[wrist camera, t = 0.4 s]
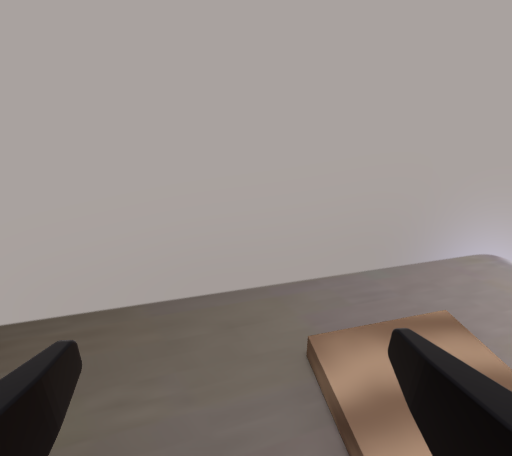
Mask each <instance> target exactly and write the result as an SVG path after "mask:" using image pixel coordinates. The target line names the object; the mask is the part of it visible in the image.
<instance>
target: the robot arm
mask: <svg viewBox="0 0 512 456" xmlns="http://www.w3.org/2000/svg"><path fill="white" fill-rule="evenodd" d="M388 357H389V360H390V363H391V365H392V368H393V370H394V373H395V375H396V378H397V380H398V383H399V385H400V388H401V391H402V393H403V396H404V398H405V401H406V403H407V405H408V408H409V410H410V412H411V414H412V416H413V418H414V420H415V422H416V424H417V426H418V428H419V430H420V432H421V434H422V436H423V438H424V440H425V442H426V444H427V446H428V448H429V450H430V452H431V454H432V456H512V391H510V390H508V389H507V388H505V387H504V386H502V385H500V384H499V383H497V382H495V381H494V380H492V379H491V378H489V377H487V376H486V375H484V374H482V373H481V372H479V371H478V370H476V369H474V368H473V367H471V366H469V365H468V364H466V363H465V362H463V361H461V360H460V359H458V358H456V357H455V356H453V355H451V354H450V353H448V352H447V351H445V350H443V349H442V348H440V347H438V346H437V345H435V344H434V343H432V342H430V341H429V340H427V339H425V338H424V337H422V336H421V335H419V334H417V333H416V332H414V331H412V330H411V329H409V328H395V329H394V330H393V331H392V334H391V338H390V342H389V346H388ZM81 369H82V361H81V357H80V353H79V349H78V346H77V343H76V342H75V341H74V340H60V341H57V342H55V343H54V344H52V345H51V346H49V347H48V348H46V349H45V350H43V351H42V352H40V353H39V354H37V355H36V356H34V357H33V358H31V359H30V360H28V361H27V362H26V363H24V364H23V365H21V366H20V367H18V368H17V369H15V370H14V371H12V372H11V373H9V374H8V375H6V376H5V377H3V378H2V379H0V456H48V455H49V453H50V451H51V449H52V446H53V444H54V442H55V440H56V438H57V435H58V433H59V431H60V428H61V426H62V423H63V421H64V418H65V415H66V412H67V409H68V407H69V404H70V401H71V398H72V395H73V393H74V390H75V387H76V384H77V381H78V379H79V376H80V373H81Z"/></svg>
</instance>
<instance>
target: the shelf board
mask: <svg viewBox="0 0 512 456" xmlns="http://www.w3.org/2000/svg"><path fill="white" fill-rule="evenodd" d="M395 328H409V329H411V330H412V331H414V332H416V333H417V334H419V335H421V336H422V337H424V338H425V339H427V340H429V341H430V342H432V343H434V344H435V345H437V346H438V347H440V348H442V349H443V350H445V351H447V352H448V353H450V354H451V355H453V356H455V357H456V358H458V359H460V360H461V361H463V362H465V363H466V364H468V365H469V366H471V367H473V368H474V369H476V370H478V371H479V372H481V373H482V374H484V375H486V376H487V377H489V378H491V379H492V380H494V381H495V382H497V383H499V384H500V385H502V386H504V387H505V388H507V389H508V390H510V391H512V370H511V369H510V368H509V367H508V366H507V365H506V364H505V363H504V362H503V361H502V360H500V359H499V358H498V357H497V356H496V355H495V354H494V353H493V352H492V351H491V350H489V349H488V348H487V347H486V346H485V345H484V344H483V343H482V342H481V341H479V340H478V339H477V338H476V337H475V336H474V335H473V334H472V333H471V332H470V331H468V330H467V329H466V328H465V327H464V326H463V325H462V324H461V323H460V322H459V321H457V320H456V319H455V318H454V317H453V316H452V315H451V314H450V313H449V312H448V311H446V310H443V311H437V312H432V313H427V314H422V315H417V316H411V317H406V318H401V319H396V320H390V321H385V322H380V323H375V324H369V325H364V326H359V327H354V328H348V329H343V330H338V331H333V332H328V333H322V334H317V335H312V336H308V344H307V358H308V360H309V362H310V365H311V367H312V369H313V372H314V374H315V376H316V379H317V381H318V383H319V386H320V388H321V390H322V393H323V395H324V397H325V400H326V402H327V404H328V407H329V409H330V411H331V414H332V416H333V418H334V421H335V423H336V425H337V428H338V430H339V432H340V435H341V437H342V439H343V442H344V444H345V446H346V449H347V451H348V453H349V456H432V454H431V452H430V450H429V448H428V446H427V444H426V442H425V440H424V438H423V436H422V434H421V432H420V430H419V428H418V426H417V424H416V422H415V420H414V418H413V416H412V414H411V412H410V410H409V408H408V405H407V403H406V401H405V398H404V396H403V393H402V391H401V388H400V385H399V383H398V380H397V378H396V375H395V373H394V370H393V368H392V365H391V363H390V360H389V357H388V346H389V342H390V338H391V334H392V331H393V330H394V329H395Z"/></svg>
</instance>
